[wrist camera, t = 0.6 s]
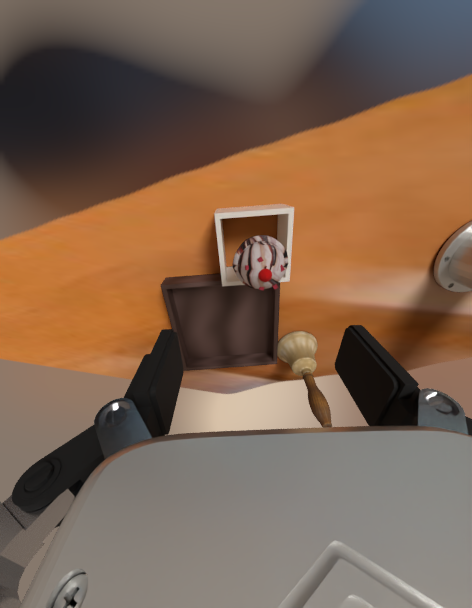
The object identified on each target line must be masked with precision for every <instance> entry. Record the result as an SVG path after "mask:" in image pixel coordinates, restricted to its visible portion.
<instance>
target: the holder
mask: <svg viewBox="0 0 472 608" xmlns="http://www.w3.org/2000/svg"><path fill="white" fill-rule="evenodd" d="M276 214H278V226H277V241H279V242H280V243H281V244H282V245H283V246H284V247H285V249H286V251H287V255H288V266H287V270H286V272H285V274H284V275H283V277H282V278H281V280H280V281H279V282H287V281H290V267H291V251H292V234H293V218H294V207H291V206H288V205H285V204H273V205H260V206H247V207H234V208H221V209H216V211H215V213H214V215H215V224H216V233H217V242H218V251H219V261H220V270H221V279H222V286H235V285H245V284H243V283H242V282H241V281H240V280H239V279H238V277H237V275H236V274H235V271H234V269H233V267H227V266H226V255H225V245H224V234H223V223H222V219H224V218H237V217H250V216H263V215H276Z"/></svg>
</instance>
